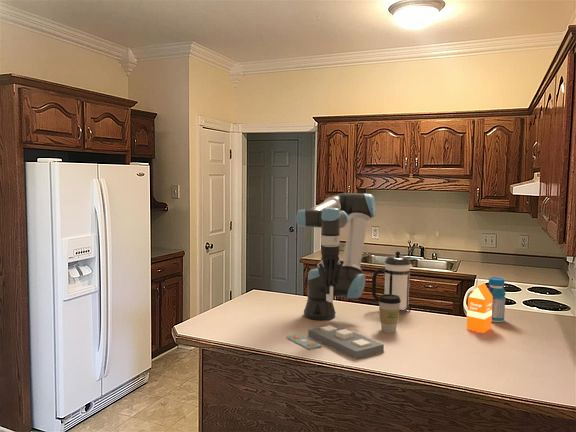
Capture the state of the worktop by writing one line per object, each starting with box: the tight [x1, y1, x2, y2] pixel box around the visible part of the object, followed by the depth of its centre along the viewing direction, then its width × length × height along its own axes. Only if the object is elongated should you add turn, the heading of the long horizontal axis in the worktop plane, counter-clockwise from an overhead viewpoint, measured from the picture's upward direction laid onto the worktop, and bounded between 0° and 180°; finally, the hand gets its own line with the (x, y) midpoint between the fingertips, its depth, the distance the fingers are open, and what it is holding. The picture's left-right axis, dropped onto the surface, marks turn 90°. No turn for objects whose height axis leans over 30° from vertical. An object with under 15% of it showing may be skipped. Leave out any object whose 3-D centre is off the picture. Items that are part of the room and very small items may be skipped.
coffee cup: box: [377, 294, 401, 333], centre depth 210 cm, size 10×10×15 cm
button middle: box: [336, 328, 354, 340], centre depth 193 cm, size 5×5×4 cm
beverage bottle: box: [487, 276, 506, 323], centre depth 227 cm, size 8×8×20 cm
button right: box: [352, 339, 371, 348], centre depth 185 cm, size 5×5×4 cm
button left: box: [319, 324, 337, 333], centre depth 201 cm, size 5×5×4 cm
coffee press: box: [371, 251, 413, 314], centre depth 241 cm, size 17×16×30 cm
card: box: [285, 334, 322, 351], centre depth 194 cm, size 16×6×1 cm, turn 34°
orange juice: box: [466, 282, 493, 334], centre depth 213 cm, size 8×9×20 cm
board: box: [307, 323, 385, 360], centre depth 193 cm, size 30×14×3 cm, turn 34°
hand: (329, 301), depth 200 cm, fingers closed
